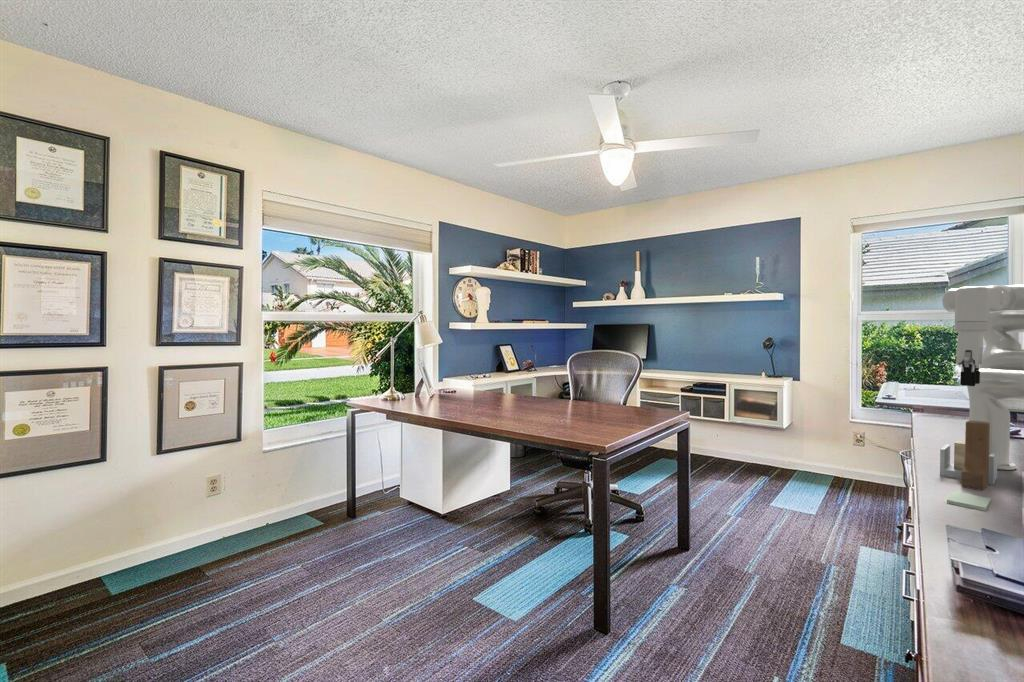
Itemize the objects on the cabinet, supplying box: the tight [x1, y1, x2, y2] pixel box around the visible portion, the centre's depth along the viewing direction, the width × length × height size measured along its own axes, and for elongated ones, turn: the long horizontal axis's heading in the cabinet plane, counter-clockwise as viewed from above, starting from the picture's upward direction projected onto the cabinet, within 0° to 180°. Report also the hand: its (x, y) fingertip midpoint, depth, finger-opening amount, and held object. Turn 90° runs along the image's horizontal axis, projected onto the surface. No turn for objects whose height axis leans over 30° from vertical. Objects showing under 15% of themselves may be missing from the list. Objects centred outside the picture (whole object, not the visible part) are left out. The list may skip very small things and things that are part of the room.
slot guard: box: [939, 443, 998, 485], centre depth 146 cm, size 10×12×8 cm
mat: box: [946, 491, 992, 512], centre depth 124 cm, size 10×7×1 cm
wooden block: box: [960, 419, 990, 491], centre depth 137 cm, size 9×4×18 cm, turn 128°
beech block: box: [953, 440, 965, 470], centre depth 146 cm, size 4×6×8 cm, turn 41°
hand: (970, 384), depth 146 cm, fingers open, 9 cm apart
